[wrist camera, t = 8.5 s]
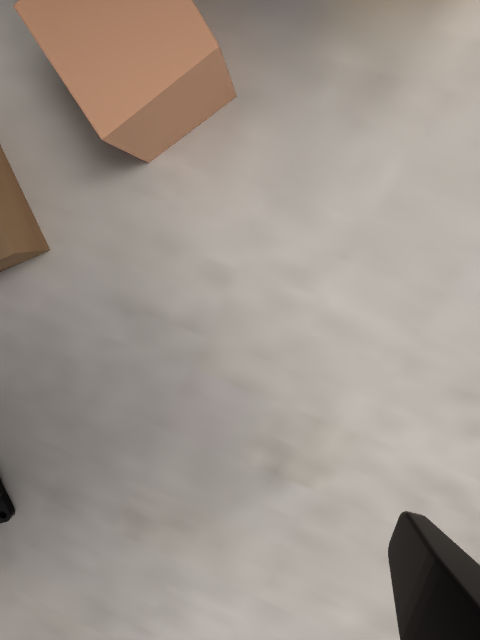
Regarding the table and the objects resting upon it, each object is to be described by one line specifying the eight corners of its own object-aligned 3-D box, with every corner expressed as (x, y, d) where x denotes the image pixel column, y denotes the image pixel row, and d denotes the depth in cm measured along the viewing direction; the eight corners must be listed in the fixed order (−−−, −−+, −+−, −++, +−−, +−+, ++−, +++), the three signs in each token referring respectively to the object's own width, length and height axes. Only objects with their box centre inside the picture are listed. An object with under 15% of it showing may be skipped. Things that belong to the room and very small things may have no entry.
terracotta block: (149, 163, 18) (101, 139, 14) (86, 66, 18) (13, 5, 13) (237, 96, 17) (219, 46, 13) (173, -9, 17) (129, -106, 12)
